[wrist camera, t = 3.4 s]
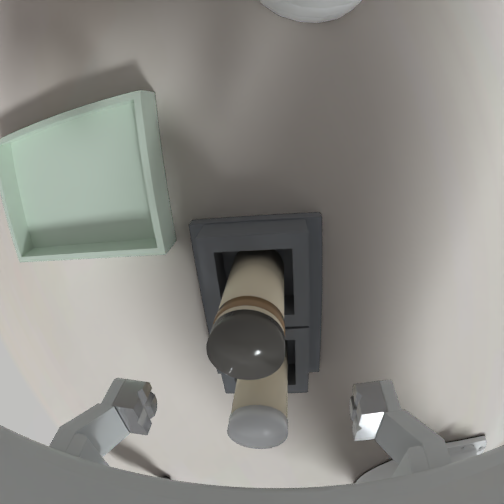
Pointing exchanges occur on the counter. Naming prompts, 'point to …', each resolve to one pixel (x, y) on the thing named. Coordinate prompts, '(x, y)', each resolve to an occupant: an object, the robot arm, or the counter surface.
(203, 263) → the fuse block
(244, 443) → the fuse
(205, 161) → the counter surface
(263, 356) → the fuse
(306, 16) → the bottle
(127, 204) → the parts tray
